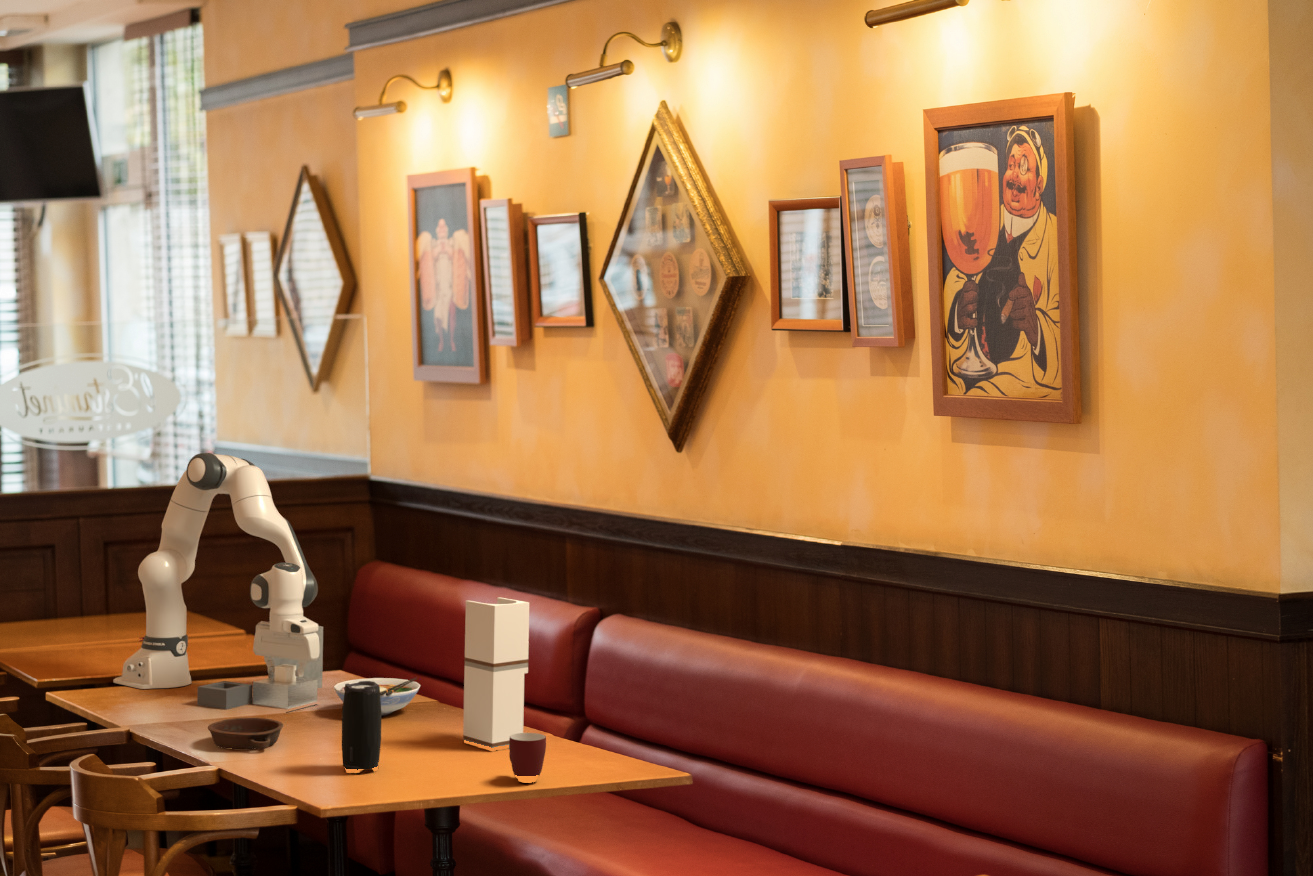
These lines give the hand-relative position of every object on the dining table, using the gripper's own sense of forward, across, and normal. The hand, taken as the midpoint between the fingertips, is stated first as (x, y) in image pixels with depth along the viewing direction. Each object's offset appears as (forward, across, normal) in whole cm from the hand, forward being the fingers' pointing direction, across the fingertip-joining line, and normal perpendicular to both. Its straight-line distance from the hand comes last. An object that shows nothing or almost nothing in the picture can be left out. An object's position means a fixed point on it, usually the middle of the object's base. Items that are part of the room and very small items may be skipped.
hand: (285, 674), depth 402 cm
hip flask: (+9, -13, +20) cm, 25 cm away
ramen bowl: (+9, +26, +6) cm, 28 cm away
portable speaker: (+9, +60, -45) cm, 76 cm away
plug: (+8, 0, 0) cm, 8 cm away
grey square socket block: (+9, -12, -10) cm, 18 cm away
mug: (+9, +96, -34) cm, 102 cm away
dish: (+9, +21, -39) cm, 45 cm away
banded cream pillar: (+9, +72, -8) cm, 73 cm away
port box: (+9, 0, 0) cm, 9 cm away
